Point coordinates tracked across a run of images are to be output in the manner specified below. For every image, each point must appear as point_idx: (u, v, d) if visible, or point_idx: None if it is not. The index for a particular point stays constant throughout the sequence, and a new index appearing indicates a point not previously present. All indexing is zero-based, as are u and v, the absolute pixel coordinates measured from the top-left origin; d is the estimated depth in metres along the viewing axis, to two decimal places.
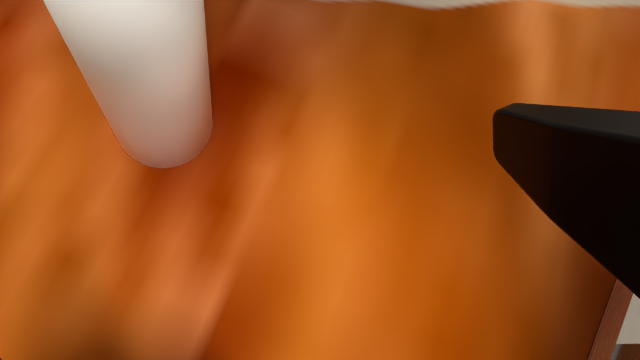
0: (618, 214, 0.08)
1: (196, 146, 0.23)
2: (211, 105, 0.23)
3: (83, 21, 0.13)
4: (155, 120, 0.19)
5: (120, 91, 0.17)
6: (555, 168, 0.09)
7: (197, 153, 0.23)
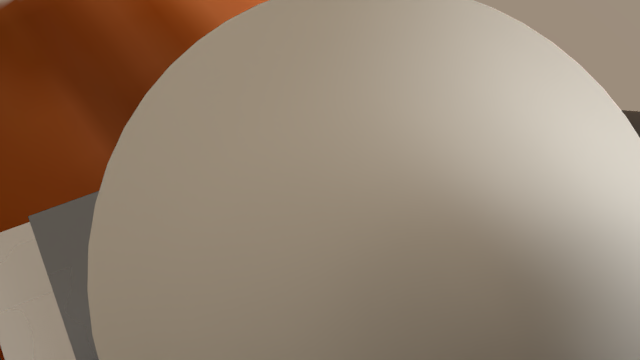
0: None
1: None
2: None
3: None
4: None
5: None
6: None
7: None
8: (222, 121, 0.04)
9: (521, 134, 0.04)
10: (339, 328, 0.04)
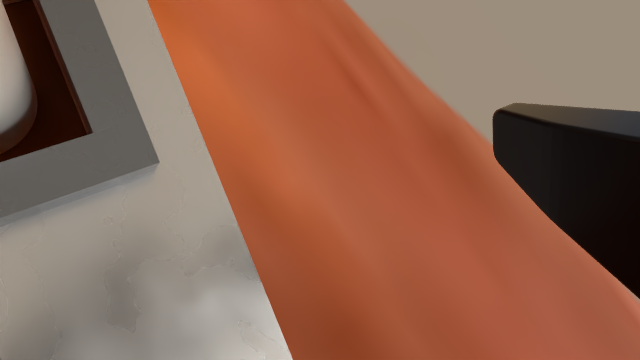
0: (618, 214, 0.08)
1: (11, 138, 0.19)
2: (32, 89, 0.19)
3: None
4: None
5: None
6: (555, 168, 0.09)
7: (14, 144, 0.19)
8: None
9: None
10: None
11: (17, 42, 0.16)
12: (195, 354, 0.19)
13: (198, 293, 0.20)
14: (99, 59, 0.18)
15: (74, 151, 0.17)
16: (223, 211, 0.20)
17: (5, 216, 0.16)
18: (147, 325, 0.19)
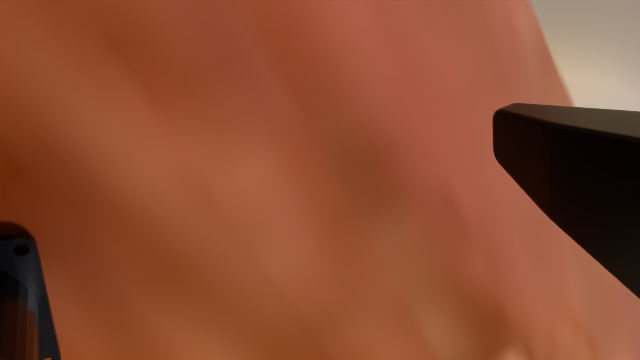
0: (618, 214, 0.08)
1: None
2: None
3: None
4: None
5: None
6: (555, 168, 0.09)
7: None
8: None
9: None
10: None
11: None
12: None
13: None
14: None
15: None
16: None
17: None
18: None
